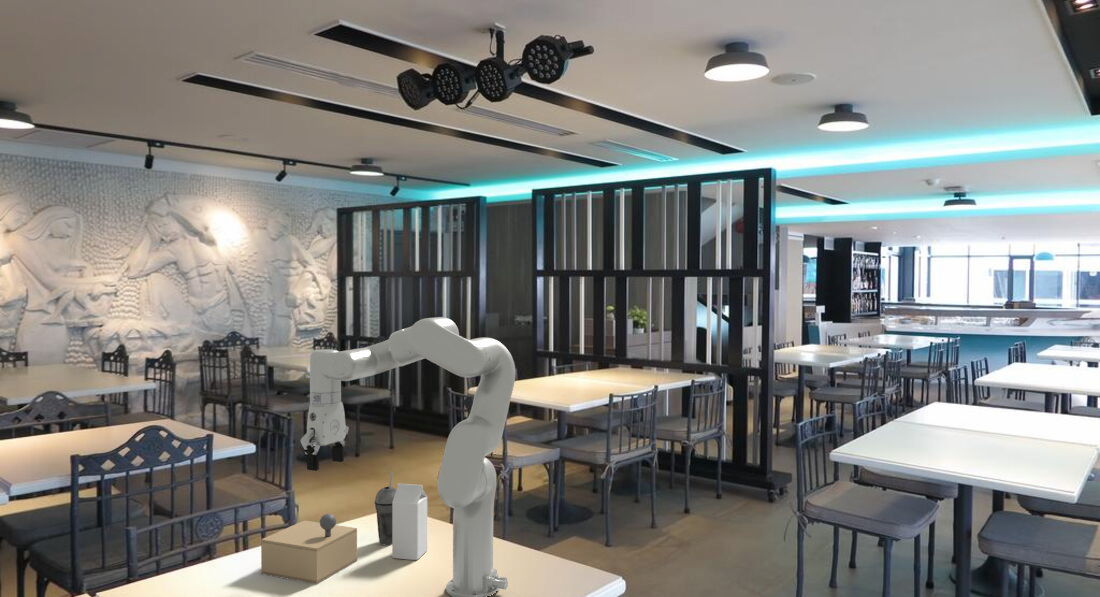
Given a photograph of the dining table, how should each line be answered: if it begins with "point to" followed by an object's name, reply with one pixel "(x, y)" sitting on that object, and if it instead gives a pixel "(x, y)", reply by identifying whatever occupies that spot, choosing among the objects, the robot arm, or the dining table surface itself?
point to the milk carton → (409, 522)
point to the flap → (311, 534)
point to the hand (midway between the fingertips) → (325, 465)
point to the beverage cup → (385, 513)
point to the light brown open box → (308, 560)
